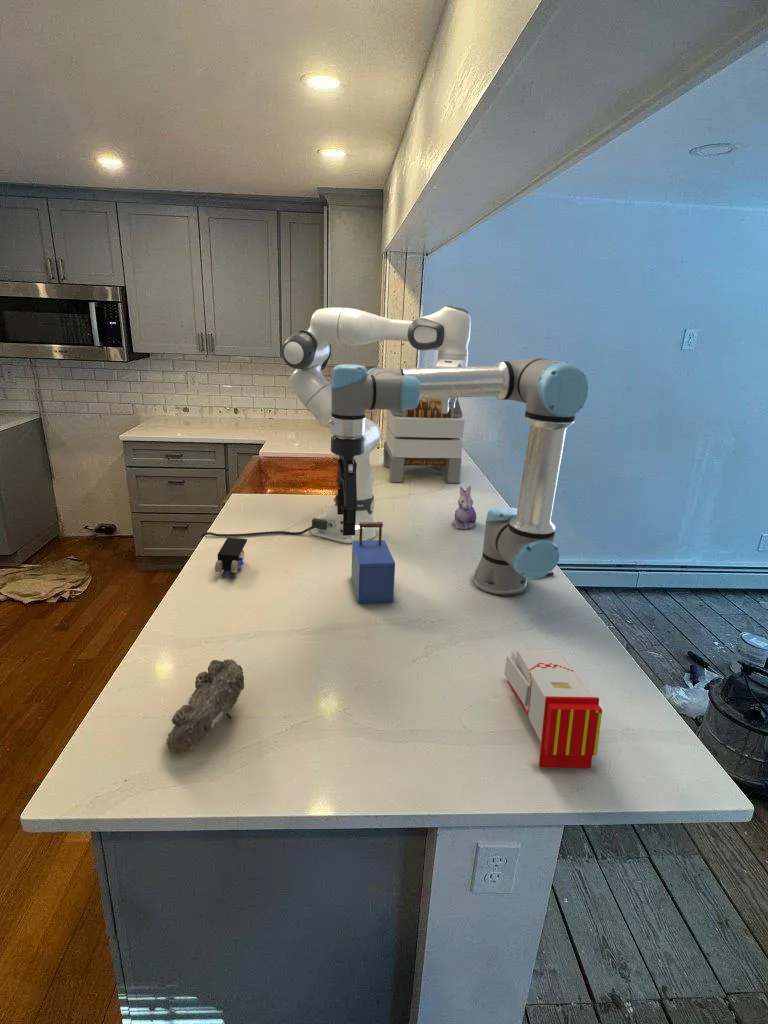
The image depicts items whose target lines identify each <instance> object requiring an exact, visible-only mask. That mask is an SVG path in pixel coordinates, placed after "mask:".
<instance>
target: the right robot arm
mask: <svg viewBox="0 0 768 1024" xmlns="http://www.w3.org/2000/svg"><path fill="white" fill-rule="evenodd" d="M331 374H332V375H331V384H330V385H331V416H332V420H333V421H329V425H332V426H331V429H330V430H331V431H330V432H331V435H332V436H331V437H330V452H331V454H333V455H335V456H336V455H339V459H338V458H337V478H336V483H337V494H338V507H337V514H338V515H343V536H346V535H355V521H356V509H357V507H358V505H357V486H356V468H357V463H356V462H355V459H354V456H356V455H361V454H363V452H364V437H363V435H364V434H365V417H366V410H382V411H383V410H385V411H387V410H401V411H403V410H410V409H415V408H416V407H417V406H418V404H419V400H420V399H431V398H458V399H459V398H477V397H478V398H481V397H482V398H483V397H495V398H496V399H497V400H498V401H515V402H519V403H523V404H526V405H525V413H524V418H525V420H526V421H527V422H528V423H529V429H528V436H527V441H526V442H527V443H526V450H525V456H524V462H523V469H522V476H521V481H520V489H519V490H520V491H519V496H518V503H517V507H508V506H507V507H506V506H505V507H503V506H501V507H495V508H491V509H489V510H488V512H487V514H486V518H485V526H484V527H485V528H484V535H483V536H484V537H483V547H482V556H481V559H480V560H479V562H478V564H477V566H476V568H475V569H474V571H473V579H472V580H473V584H474V586H476V588H478V589H479V590H481V591H483V592H485V593H488V594H490V595H491V594H492V595H496V596H504V597H505V596H507V597H508V596H509V597H510V596H517V595H520V594H522V593H524V592H525V591H526V589H527V583H528V580H527V579H529V580H537V579H541V578H546V577H550V576H554V575H555V573H554V572H553V570H554V569H555V568H556V567H557V565H558V563H559V560H560V549H559V547H558V545H557V544H556V542H554V541H555V540H554V539H555V534H556V526H555V524H554V523H553V521H552V515H553V510H554V503H555V497H556V491H557V487H558V479H559V475H560V474H559V473H560V468H561V462H562V457H563V450H564V444H565V438H566V432H567V429H568V428H569V427H570V426H571V425H573V424H574V423H575V419H576V415H577V414H578V413H579V412H580V411H581V409H582V408H584V407H585V405H586V404H587V402H588V399H589V394H590V385H589V381H588V378H587V376H586V374H584V371H582V369H580V368H579V367H577V366H576V365H574V364H571V363H568V362H565V361H559V360H552V359H547V358H541V357H536V358H534V357H533V358H526V359H525V358H524V359H517V360H505V361H504V360H503V361H497V363H496V364H495V365H477V366H475V365H474V366H473V365H471V366H467V367H436V366H435V367H408V368H407V367H405V368H404V367H402V368H401V367H400V368H384V367H372V368H370V369H367V367H366V366H365V365H360V364H351V363H350V364H349V363H348V364H347V363H342V364H337V365H335V366H334V367H333V368H332V373H331ZM350 502H353V503H350Z"/></svg>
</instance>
